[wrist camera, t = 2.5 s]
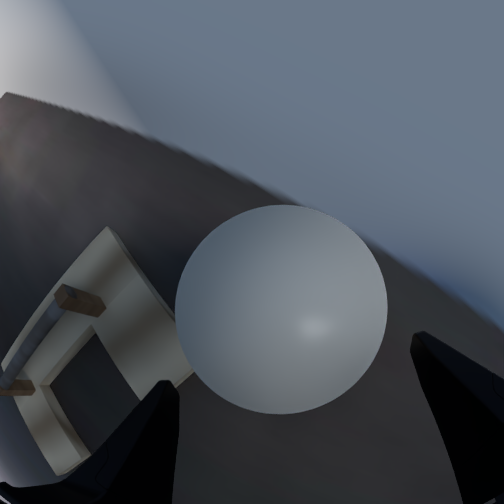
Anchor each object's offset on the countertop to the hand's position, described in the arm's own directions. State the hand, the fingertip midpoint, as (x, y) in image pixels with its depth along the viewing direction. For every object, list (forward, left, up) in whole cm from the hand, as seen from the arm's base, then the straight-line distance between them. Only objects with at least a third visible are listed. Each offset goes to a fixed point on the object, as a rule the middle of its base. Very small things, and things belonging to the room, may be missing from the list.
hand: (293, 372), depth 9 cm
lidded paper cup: (+2, 0, -9) cm, 10 cm away
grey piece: (-1, +19, -9) cm, 21 cm away
